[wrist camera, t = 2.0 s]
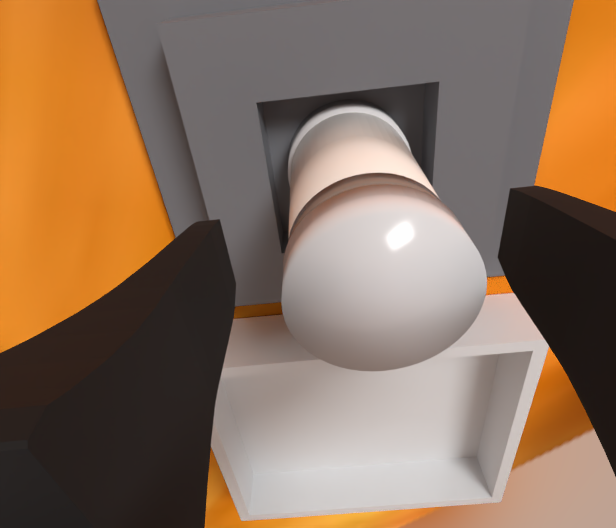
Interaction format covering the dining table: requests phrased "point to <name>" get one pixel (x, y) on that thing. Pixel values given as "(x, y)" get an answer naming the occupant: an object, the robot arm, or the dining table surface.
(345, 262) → the cylinder
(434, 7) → the socket block
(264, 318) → the parts tray
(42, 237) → the dining table surface
